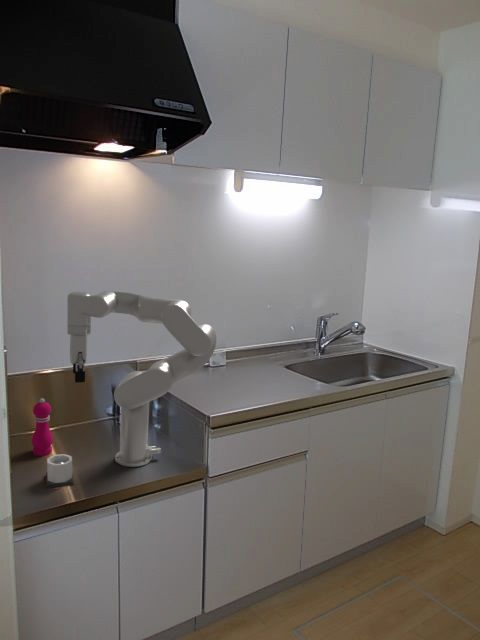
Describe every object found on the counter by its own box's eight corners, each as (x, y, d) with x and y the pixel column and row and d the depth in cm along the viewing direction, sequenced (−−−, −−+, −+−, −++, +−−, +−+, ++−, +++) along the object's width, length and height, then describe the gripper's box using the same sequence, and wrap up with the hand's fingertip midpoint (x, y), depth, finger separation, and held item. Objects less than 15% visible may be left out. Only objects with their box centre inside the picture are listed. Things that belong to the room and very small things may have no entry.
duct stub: (71, 472, 181) (72, 455, 180) (73, 484, 173) (73, 467, 172) (46, 475, 178) (46, 458, 177) (46, 487, 171) (46, 469, 169)
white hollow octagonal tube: (59, 469, 180) (59, 452, 179) (76, 475, 177) (76, 458, 176) (42, 478, 174) (42, 461, 173) (60, 484, 171) (60, 467, 170)
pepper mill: (57, 449, 196) (57, 396, 192) (44, 458, 189) (44, 403, 185) (40, 446, 198) (39, 393, 194) (27, 454, 191) (26, 400, 187)
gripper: (66, 323, 191) (66, 370, 195) (68, 335, 176) (68, 386, 179) (88, 323, 194) (87, 369, 197) (93, 334, 178) (92, 385, 182)
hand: (78, 377), depth 188 cm, fingers open, 9 cm apart
